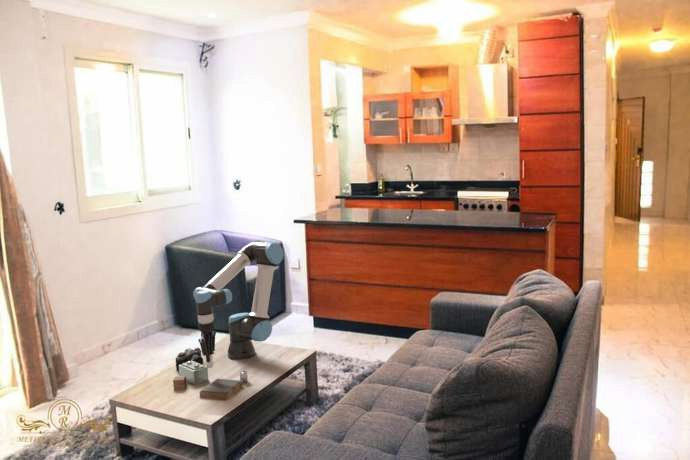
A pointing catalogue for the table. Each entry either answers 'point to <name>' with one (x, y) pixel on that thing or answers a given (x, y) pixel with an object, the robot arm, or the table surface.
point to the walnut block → (179, 382)
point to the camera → (189, 357)
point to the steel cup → (243, 377)
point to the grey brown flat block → (221, 389)
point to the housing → (193, 372)
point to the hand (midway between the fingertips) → (210, 367)
